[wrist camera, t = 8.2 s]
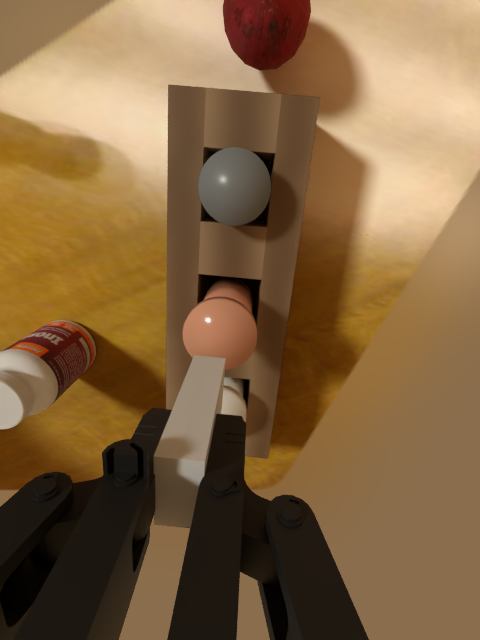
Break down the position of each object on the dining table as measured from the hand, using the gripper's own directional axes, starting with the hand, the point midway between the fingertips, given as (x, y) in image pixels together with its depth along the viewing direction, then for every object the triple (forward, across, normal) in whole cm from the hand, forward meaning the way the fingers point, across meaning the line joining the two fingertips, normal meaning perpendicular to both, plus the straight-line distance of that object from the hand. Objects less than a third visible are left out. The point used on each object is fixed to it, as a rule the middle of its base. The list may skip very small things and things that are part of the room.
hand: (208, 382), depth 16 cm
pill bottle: (+18, -17, -8) cm, 26 cm away
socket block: (+18, 0, 0) cm, 18 cm away
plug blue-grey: (+18, 0, +9) cm, 20 cm away
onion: (+18, +1, +20) cm, 27 cm away
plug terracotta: (+14, 0, 0) cm, 14 cm away
